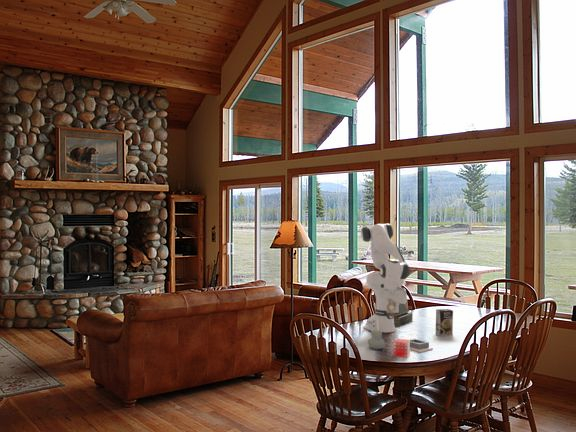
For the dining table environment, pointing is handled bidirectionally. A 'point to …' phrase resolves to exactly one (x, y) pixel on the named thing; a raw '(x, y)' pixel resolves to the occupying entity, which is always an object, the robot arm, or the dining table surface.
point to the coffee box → (444, 322)
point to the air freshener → (376, 340)
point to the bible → (402, 316)
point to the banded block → (391, 308)
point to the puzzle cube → (401, 347)
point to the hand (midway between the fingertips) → (392, 308)
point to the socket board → (419, 345)
